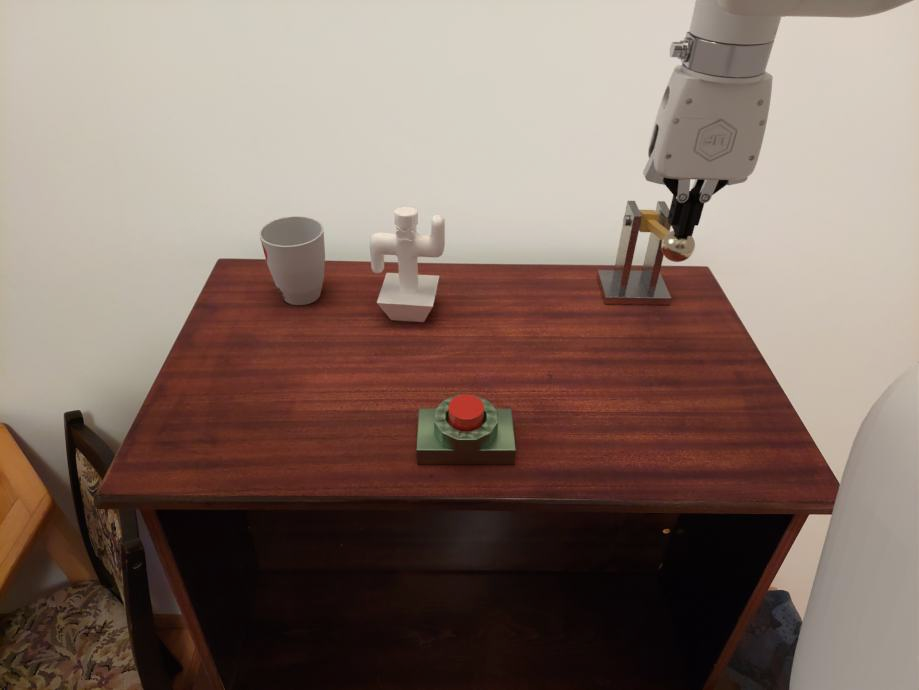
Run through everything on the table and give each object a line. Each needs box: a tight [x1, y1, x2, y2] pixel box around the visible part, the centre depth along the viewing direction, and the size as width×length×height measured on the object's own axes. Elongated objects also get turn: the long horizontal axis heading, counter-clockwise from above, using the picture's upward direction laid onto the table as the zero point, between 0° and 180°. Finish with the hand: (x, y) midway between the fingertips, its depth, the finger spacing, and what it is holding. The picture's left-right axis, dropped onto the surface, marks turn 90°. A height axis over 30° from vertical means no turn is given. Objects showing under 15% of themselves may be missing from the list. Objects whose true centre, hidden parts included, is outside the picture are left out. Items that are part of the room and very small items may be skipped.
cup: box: [258, 215, 326, 306], centre depth 86 cm, size 8×8×10 cm
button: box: [448, 394, 484, 431], centre depth 65 cm, size 4×4×2 cm
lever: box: [639, 209, 696, 263], centre depth 79 cm, size 16×4×4 cm, turn 0°
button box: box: [415, 394, 517, 465], centre depth 67 cm, size 10×6×4 cm, turn 91°
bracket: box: [596, 200, 672, 306], centre depth 88 cm, size 7×9×13 cm
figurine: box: [369, 206, 446, 323], centre depth 82 cm, size 7×9×15 cm
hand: (680, 229), depth 72 cm, fingers closed
